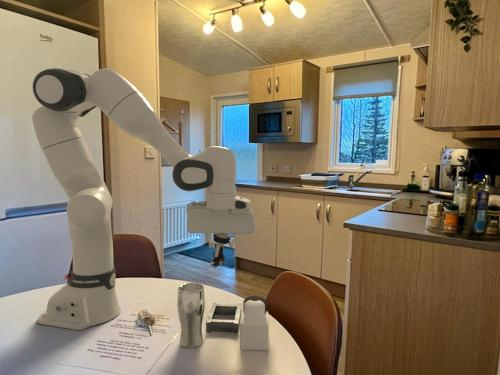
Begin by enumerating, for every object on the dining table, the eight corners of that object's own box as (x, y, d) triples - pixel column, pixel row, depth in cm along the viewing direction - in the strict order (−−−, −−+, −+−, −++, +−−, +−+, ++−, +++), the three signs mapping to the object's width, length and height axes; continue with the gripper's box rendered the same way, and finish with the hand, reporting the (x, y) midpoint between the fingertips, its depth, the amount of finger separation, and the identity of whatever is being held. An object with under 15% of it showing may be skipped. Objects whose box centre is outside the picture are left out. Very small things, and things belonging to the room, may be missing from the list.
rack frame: (206, 332, 93) (206, 322, 93) (213, 312, 105) (213, 303, 105) (238, 333, 93) (238, 323, 93) (241, 313, 105) (241, 304, 104)
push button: (218, 271, 97) (225, 237, 96) (202, 265, 99) (208, 232, 98) (227, 265, 104) (234, 234, 103) (212, 260, 105) (218, 229, 104)
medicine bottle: (241, 335, 92) (242, 293, 91) (267, 335, 92) (268, 293, 91) (240, 350, 85) (240, 304, 84) (268, 351, 85) (269, 305, 84)
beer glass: (192, 353, 84) (192, 295, 82) (172, 344, 87) (171, 288, 86) (210, 340, 90) (210, 285, 88) (190, 332, 93) (190, 280, 92)
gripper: (183, 202, 96) (184, 250, 98) (255, 203, 95) (255, 251, 97) (188, 199, 102) (189, 244, 104) (255, 200, 102) (255, 245, 103)
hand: (221, 247), depth 100 cm, fingers closed on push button, 4 cm apart
